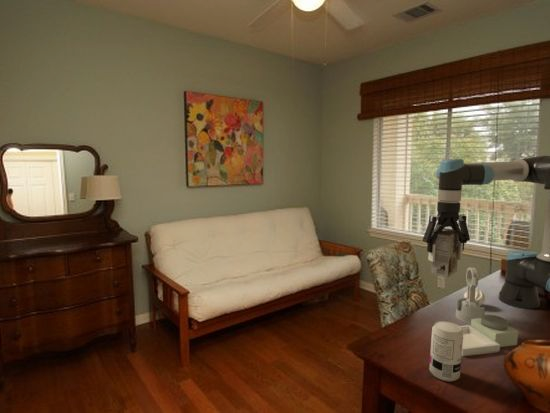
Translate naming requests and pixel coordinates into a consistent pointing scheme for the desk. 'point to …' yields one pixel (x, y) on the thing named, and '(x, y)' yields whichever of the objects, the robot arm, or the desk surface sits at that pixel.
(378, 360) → the desk surface
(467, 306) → the engine component
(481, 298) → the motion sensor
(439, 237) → the coffee box
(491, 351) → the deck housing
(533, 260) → the robot arm
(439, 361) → the supplement can
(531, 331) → the desk surface
